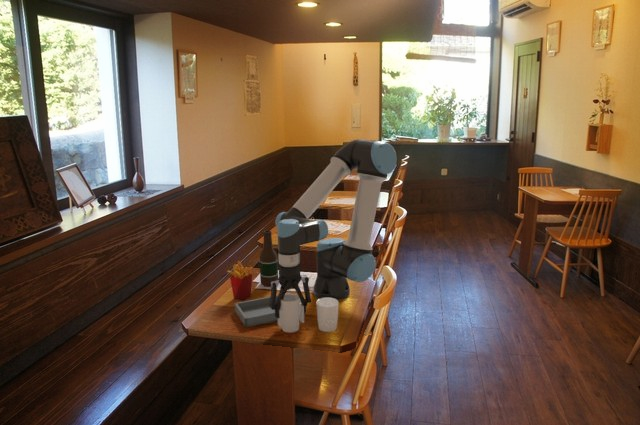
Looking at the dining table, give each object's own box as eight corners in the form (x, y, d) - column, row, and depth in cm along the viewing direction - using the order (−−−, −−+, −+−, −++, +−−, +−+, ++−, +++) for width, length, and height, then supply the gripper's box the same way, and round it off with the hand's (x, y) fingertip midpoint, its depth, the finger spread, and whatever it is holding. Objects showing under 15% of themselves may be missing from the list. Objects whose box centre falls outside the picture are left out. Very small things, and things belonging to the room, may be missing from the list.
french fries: (254, 296, 215) (252, 262, 211) (240, 304, 208) (238, 268, 204) (237, 292, 220) (235, 258, 216) (224, 299, 213) (222, 264, 209)
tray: (292, 300, 211) (292, 292, 210) (306, 315, 198) (305, 306, 197) (235, 311, 202) (234, 303, 201) (245, 327, 189) (245, 318, 188)
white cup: (316, 323, 191) (315, 297, 189) (337, 322, 192) (337, 296, 189) (317, 333, 184) (317, 307, 181) (339, 332, 184) (339, 306, 182)
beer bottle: (260, 281, 231) (257, 229, 225) (277, 279, 232) (275, 227, 226) (261, 287, 224) (258, 234, 218) (279, 286, 225) (277, 233, 219)
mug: (294, 334, 183) (293, 303, 180) (277, 331, 186) (276, 299, 183) (307, 322, 192) (306, 292, 189) (291, 319, 195) (290, 289, 192)
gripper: (264, 271, 175) (267, 333, 181) (320, 262, 183) (321, 322, 189) (257, 264, 182) (260, 324, 188) (312, 256, 190) (313, 313, 195)
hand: (291, 323), depth 188 cm, fingers closed on mug, 8 cm apart
